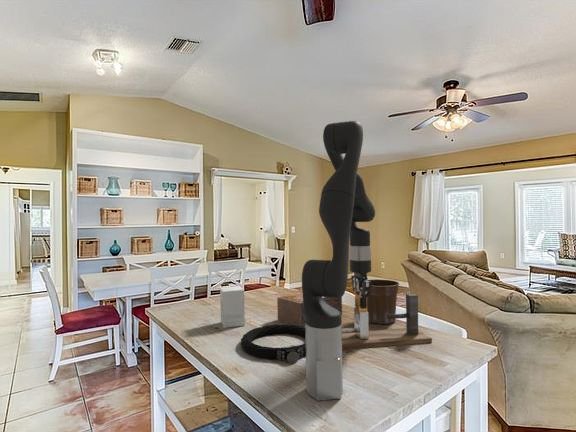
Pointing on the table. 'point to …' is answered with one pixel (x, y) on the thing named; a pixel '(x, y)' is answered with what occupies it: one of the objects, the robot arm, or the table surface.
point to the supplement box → (232, 306)
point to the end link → (359, 320)
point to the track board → (392, 331)
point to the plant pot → (382, 301)
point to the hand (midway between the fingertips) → (361, 306)
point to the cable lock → (274, 353)
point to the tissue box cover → (299, 308)
